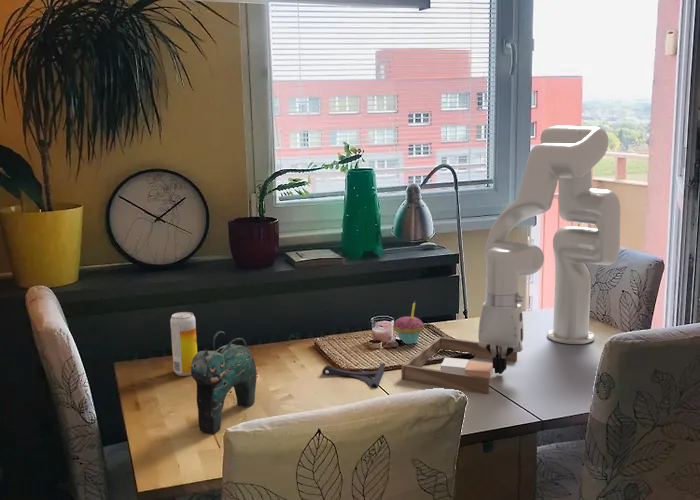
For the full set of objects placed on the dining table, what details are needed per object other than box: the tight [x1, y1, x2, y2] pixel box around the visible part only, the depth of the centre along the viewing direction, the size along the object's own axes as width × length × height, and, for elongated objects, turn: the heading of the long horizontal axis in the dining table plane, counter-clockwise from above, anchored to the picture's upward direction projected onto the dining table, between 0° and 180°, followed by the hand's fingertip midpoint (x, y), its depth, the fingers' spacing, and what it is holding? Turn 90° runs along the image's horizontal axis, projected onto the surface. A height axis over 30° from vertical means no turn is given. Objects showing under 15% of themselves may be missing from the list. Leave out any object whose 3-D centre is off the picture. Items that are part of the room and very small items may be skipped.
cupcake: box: [392, 300, 425, 345], centre depth 210 cm, size 9×8×12 cm
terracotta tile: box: [465, 360, 494, 383], centre depth 183 cm, size 6×6×3 cm
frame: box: [401, 336, 518, 395], centre depth 188 cm, size 25×22×4 cm
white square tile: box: [440, 357, 470, 374], centre depth 186 cm, size 6×6×3 cm
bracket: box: [321, 362, 386, 389], centre depth 185 cm, size 14×15×3 cm
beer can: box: [169, 311, 198, 377], centre depth 188 cm, size 6×6×15 cm
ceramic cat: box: [190, 330, 258, 435], centre depth 160 cm, size 20×6×20 cm, turn 156°
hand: (499, 371), depth 183 cm, fingers closed
